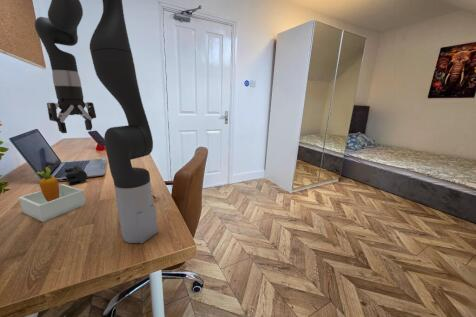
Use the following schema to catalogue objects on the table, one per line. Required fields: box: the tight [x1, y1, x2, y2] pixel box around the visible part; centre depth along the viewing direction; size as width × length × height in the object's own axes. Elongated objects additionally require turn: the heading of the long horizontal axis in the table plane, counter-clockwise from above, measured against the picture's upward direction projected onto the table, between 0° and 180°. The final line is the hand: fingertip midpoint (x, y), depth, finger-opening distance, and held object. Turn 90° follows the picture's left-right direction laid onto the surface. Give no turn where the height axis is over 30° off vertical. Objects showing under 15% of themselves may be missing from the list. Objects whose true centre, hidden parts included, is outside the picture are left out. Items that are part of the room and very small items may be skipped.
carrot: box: [36, 166, 60, 202], centre depth 75 cm, size 5×5×15 cm
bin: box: [18, 183, 86, 223], centre depth 77 cm, size 13×13×6 cm
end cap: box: [64, 165, 88, 187], centre depth 102 cm, size 10×7×7 cm
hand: (77, 131), depth 78 cm, fingers open, 8 cm apart
